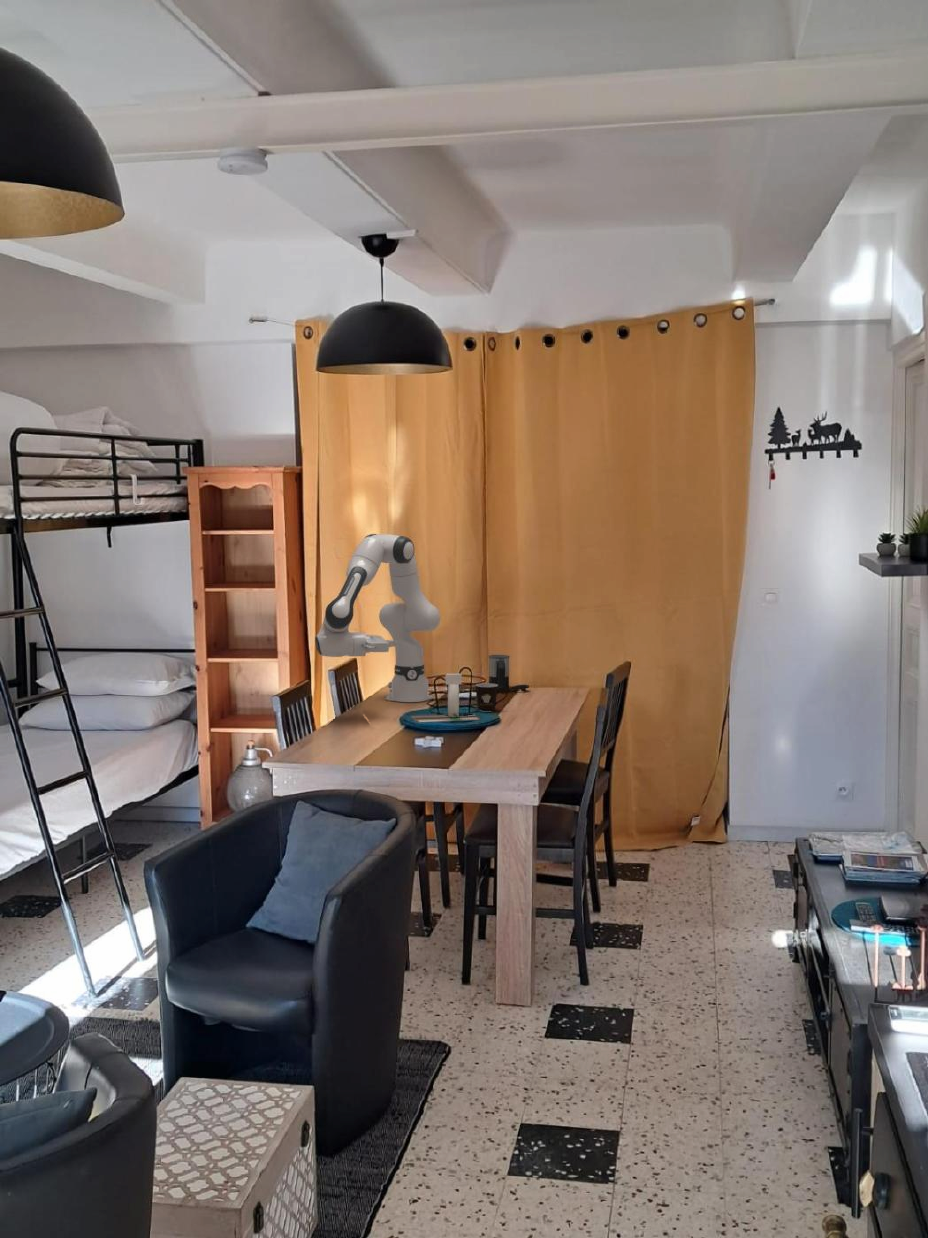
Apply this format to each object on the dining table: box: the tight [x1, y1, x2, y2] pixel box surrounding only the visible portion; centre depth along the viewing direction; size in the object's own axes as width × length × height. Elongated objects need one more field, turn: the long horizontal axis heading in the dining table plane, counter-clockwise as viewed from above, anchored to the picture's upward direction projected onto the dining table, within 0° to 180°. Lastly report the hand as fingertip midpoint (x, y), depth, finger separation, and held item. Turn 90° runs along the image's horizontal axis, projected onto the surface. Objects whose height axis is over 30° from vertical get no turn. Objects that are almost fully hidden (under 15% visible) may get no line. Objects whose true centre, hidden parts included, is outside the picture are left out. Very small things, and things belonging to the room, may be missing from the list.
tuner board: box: [410, 713, 482, 723], centre depth 440 cm, size 12×24×2 cm, turn 103°
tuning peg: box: [445, 673, 463, 717], centre depth 438 cm, size 8×6×16 cm
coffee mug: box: [475, 682, 508, 713], centre depth 461 cm, size 12×9×10 cm
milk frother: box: [488, 654, 530, 693], centre depth 507 cm, size 14×16×15 cm
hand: (397, 643), depth 444 cm, fingers closed
